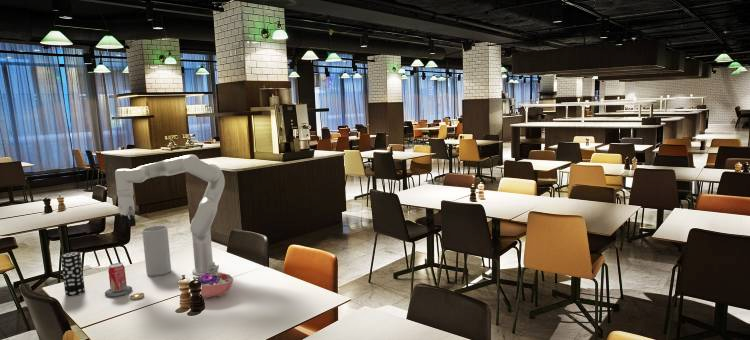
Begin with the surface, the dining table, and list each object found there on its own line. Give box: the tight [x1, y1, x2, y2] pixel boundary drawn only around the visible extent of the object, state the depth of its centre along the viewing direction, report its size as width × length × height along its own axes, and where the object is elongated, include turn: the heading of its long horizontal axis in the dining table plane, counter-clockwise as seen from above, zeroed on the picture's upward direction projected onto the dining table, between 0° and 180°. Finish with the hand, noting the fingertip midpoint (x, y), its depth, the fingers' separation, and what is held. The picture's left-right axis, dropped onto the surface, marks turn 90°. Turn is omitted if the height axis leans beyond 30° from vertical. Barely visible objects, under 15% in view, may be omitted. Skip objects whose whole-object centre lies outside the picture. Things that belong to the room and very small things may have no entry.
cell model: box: [195, 272, 234, 298], centre depth 230 cm, size 17×20×11 cm
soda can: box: [107, 262, 128, 292], centre depth 237 cm, size 7×7×13 cm
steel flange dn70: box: [104, 285, 133, 298], centre depth 238 cm, size 12×12×2 cm
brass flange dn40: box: [129, 292, 145, 301], centre depth 231 cm, size 6×6×1 cm
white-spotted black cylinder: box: [60, 251, 86, 297], centre depth 238 cm, size 8×8×20 cm
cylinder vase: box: [141, 225, 172, 277], centre depth 264 cm, size 12×12×25 cm
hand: (128, 224), depth 250 cm, fingers open, 9 cm apart
